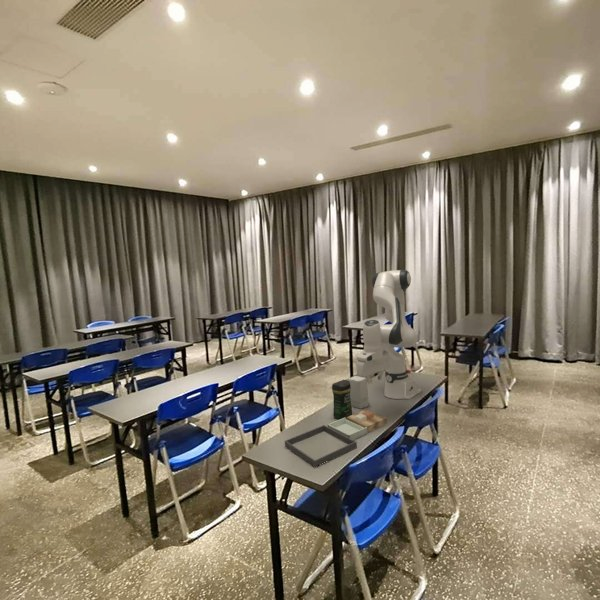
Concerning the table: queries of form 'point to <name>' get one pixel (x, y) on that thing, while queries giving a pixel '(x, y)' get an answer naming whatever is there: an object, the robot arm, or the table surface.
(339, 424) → the tray
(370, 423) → the oak board
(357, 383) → the skincare box
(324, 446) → the table surface
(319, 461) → the mat rim
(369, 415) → the terracotta tile
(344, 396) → the coffee jar
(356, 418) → the cream tile
